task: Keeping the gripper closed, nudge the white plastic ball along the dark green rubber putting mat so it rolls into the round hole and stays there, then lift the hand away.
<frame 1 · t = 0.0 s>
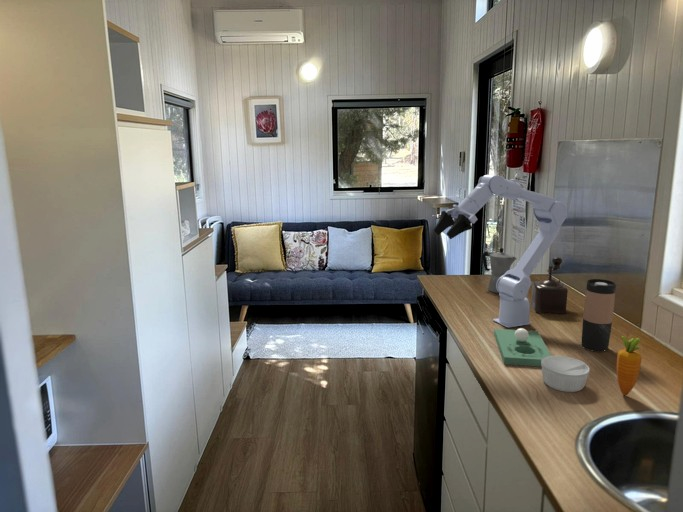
hand: (441, 234, 151), 32 cm above the worktop, tool tilted 50°, fingers open, 7 cm apart
manual coffee grinder: (547, 307, 183), on the worktop
ball: (521, 335, 146), point 4 cm above the worktop, touching putting mat
ramekin: (563, 384, 124), on the worktop
coffeepot: (496, 290, 206), on the worktop
carrot: (624, 396, 118), on the worktop
putting mat: (521, 349, 145), on the worktop
travel mug: (594, 347, 147), on the worktop
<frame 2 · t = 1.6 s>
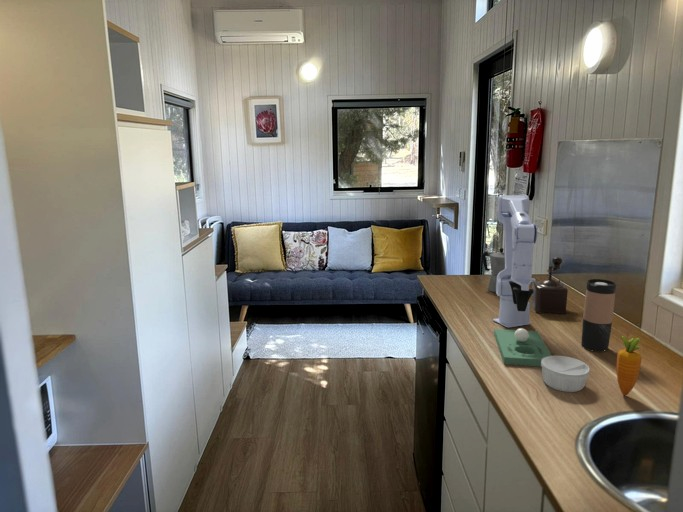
hand: (519, 307, 151), 10 cm above the worktop, tool pointing down, fingers open, 7 cm apart
nothing on the worktop moved.
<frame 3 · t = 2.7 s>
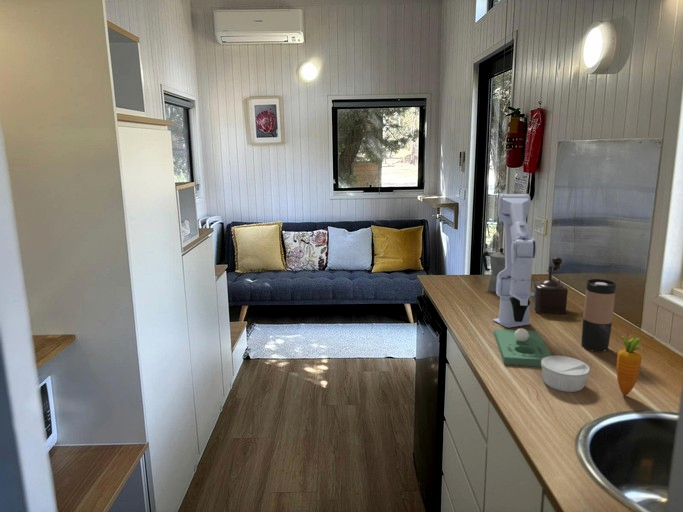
hand: (518, 321, 152), 6 cm above the worktop, tool pointing down, fingers closed
nothing on the worktop moved.
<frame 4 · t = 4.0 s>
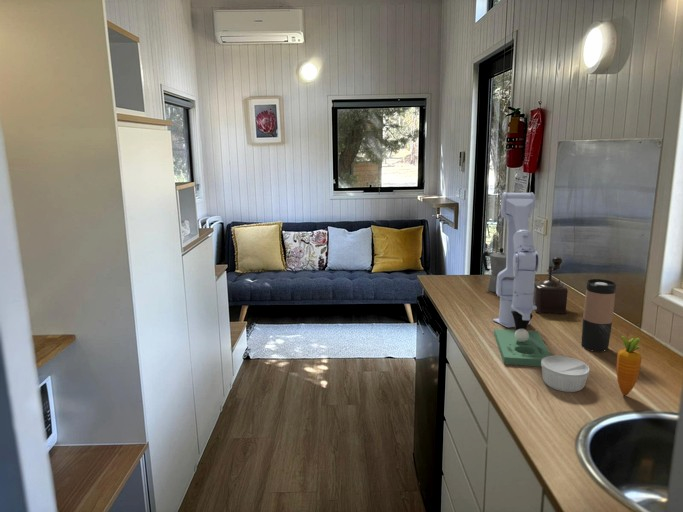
hand: (520, 335, 148), 3 cm above the worktop, tool pointing down, fingers closed, pressing on ball
ball: (521, 335, 145), point 4 cm above the worktop, touching gripper, putting mat
everything else where it was.
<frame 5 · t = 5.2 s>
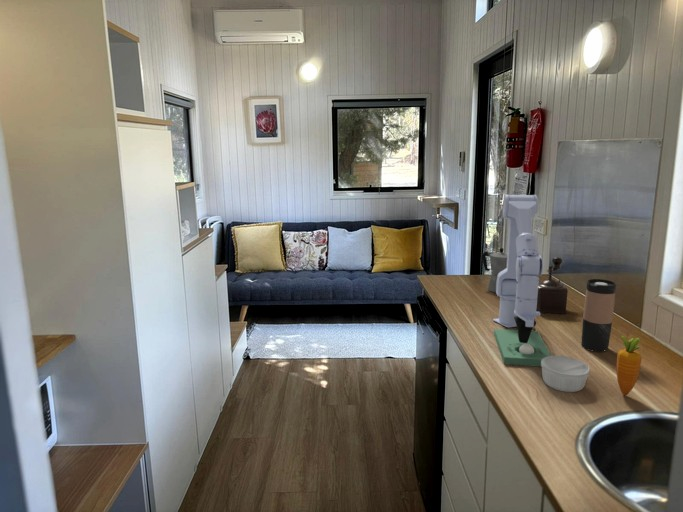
hand: (523, 342, 143), 3 cm above the worktop, tool pointing down, fingers closed
ball: (526, 350, 139), point 2 cm above the worktop, tilted 98°
everything else where it was.
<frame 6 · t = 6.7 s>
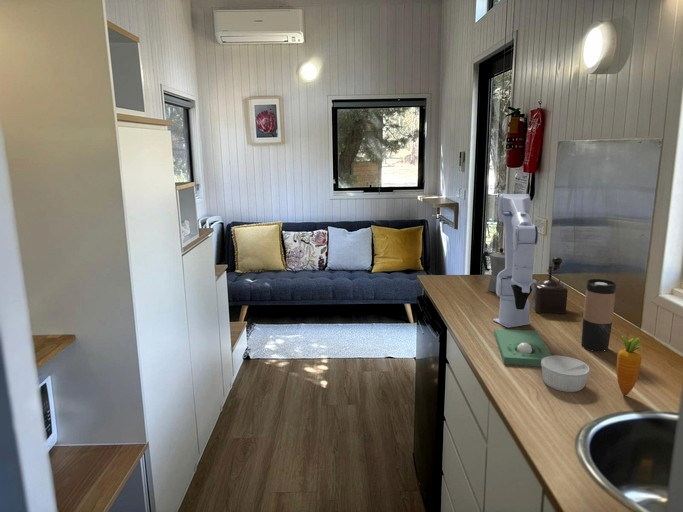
hand: (519, 308, 150), 10 cm above the worktop, tool pointing down, fingers closed
ball: (524, 349, 140), point 2 cm above the worktop, tilted 120°
everything else where it was.
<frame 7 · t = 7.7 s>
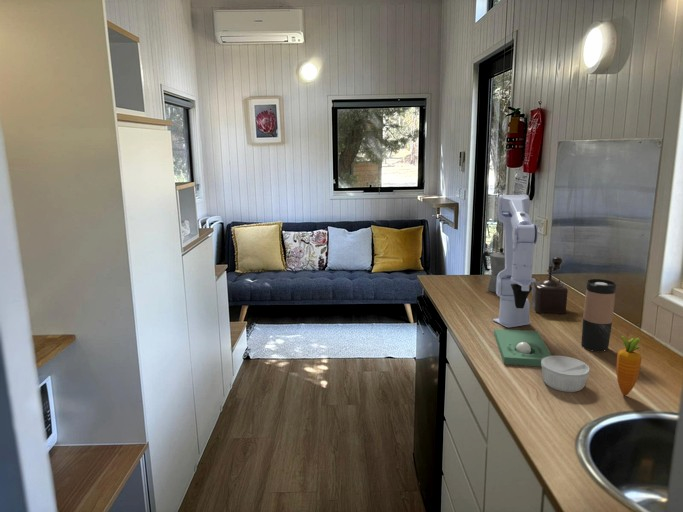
hand: (519, 307, 150), 10 cm above the worktop, tool pointing down, fingers closed
ball: (523, 349, 140), point 2 cm above the worktop, tilted 130°
everything else where it was.
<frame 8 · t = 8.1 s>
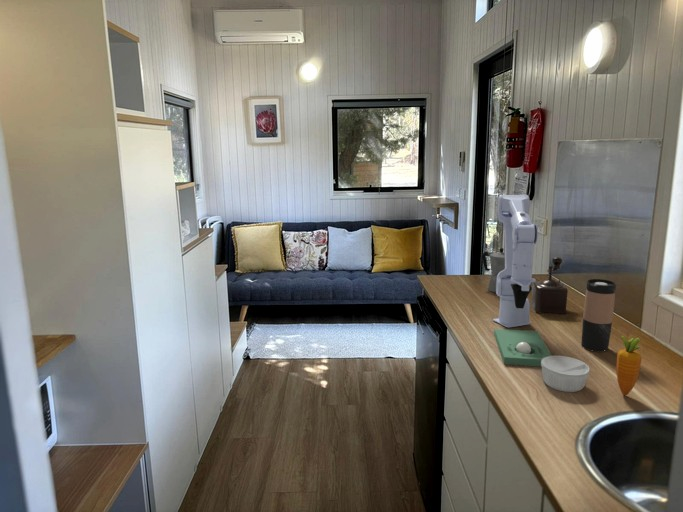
hand: (519, 307, 150), 10 cm above the worktop, tool pointing down, fingers closed
nothing on the worktop moved.
at the end: ball 0.7 cm from the target spot on the putting mat, point 2.0 cm above the putting mat's base; the gripper is holding nothing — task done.
